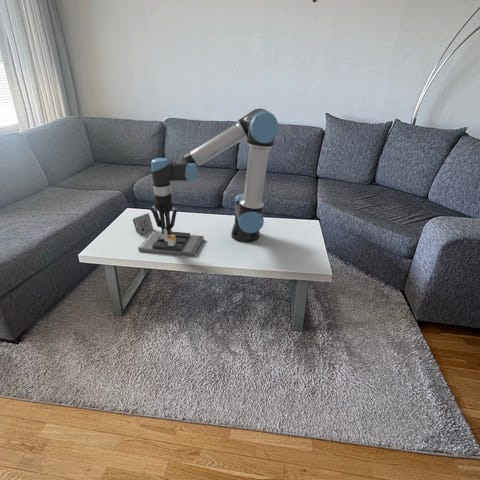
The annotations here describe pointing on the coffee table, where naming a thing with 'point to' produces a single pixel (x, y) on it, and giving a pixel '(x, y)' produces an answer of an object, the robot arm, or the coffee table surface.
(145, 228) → the electrical switch
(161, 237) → the block
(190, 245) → the panel
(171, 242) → the block
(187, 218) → the coffee table surface
